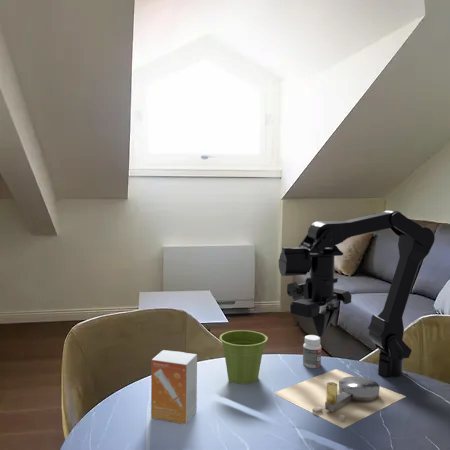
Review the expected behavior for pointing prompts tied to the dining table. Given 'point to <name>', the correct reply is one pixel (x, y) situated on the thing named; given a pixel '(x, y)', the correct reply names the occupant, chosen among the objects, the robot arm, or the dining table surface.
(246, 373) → the plant pot
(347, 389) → the lever
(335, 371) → the stand board
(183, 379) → the small box
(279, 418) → the dining table surface
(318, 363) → the pill bottle
